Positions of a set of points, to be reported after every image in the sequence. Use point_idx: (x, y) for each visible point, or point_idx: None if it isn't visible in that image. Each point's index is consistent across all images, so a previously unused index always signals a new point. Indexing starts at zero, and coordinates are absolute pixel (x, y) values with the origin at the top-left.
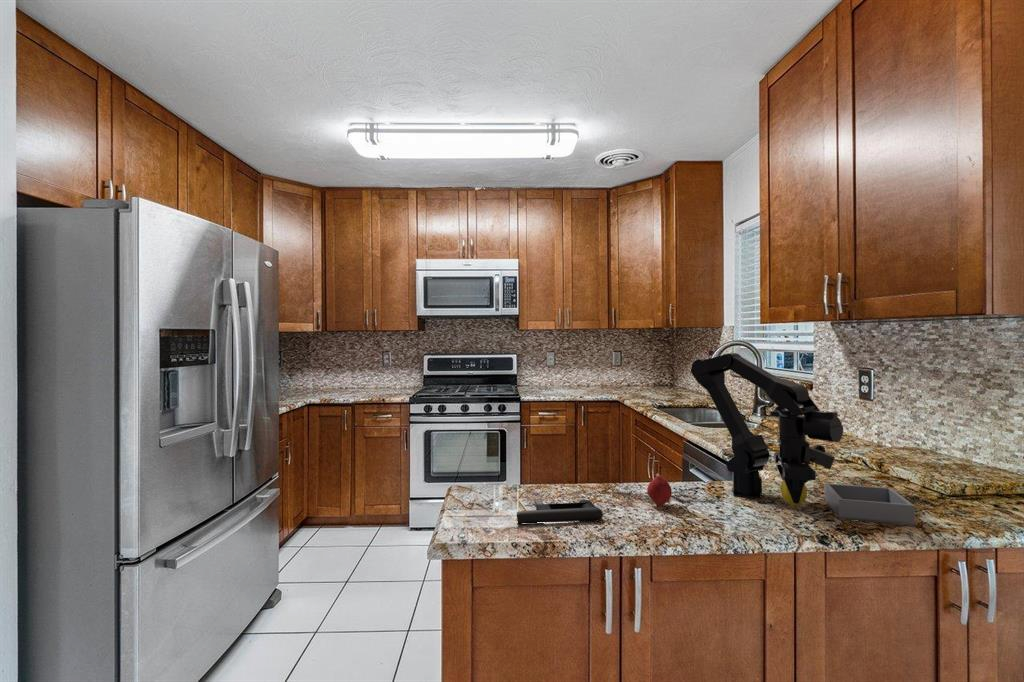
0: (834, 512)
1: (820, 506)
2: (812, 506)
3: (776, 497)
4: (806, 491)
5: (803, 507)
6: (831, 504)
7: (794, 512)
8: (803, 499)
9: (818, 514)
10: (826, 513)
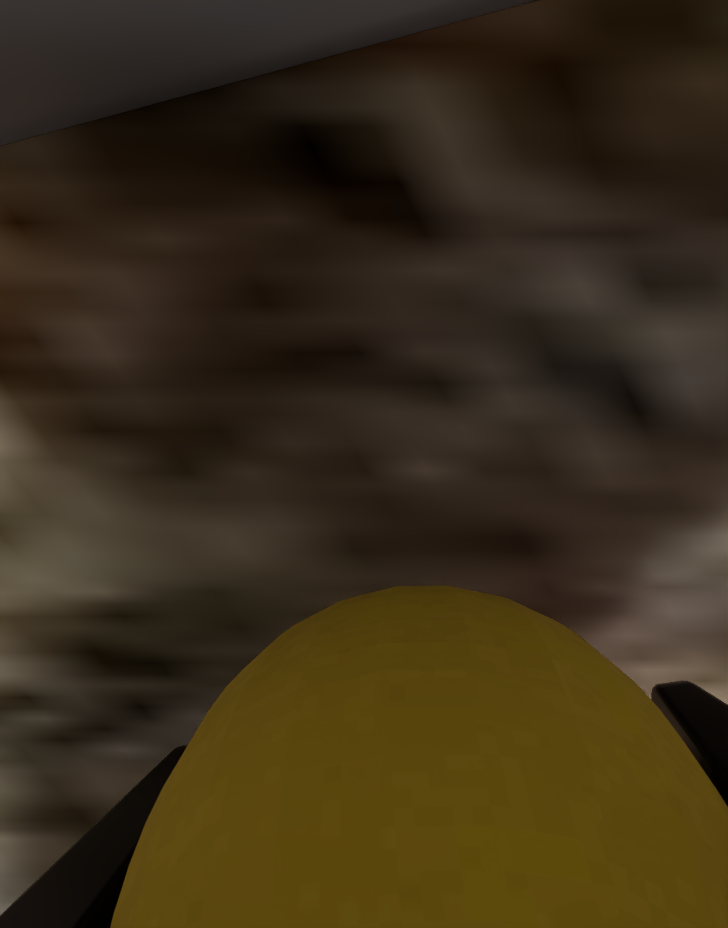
0: (483, 8)
1: (141, 285)
2: (223, 410)
3: (62, 836)
4: (519, 709)
5: (361, 535)
6: (218, 40)
7: (700, 643)
8: (579, 640)
9: (674, 312)
10: (549, 174)
